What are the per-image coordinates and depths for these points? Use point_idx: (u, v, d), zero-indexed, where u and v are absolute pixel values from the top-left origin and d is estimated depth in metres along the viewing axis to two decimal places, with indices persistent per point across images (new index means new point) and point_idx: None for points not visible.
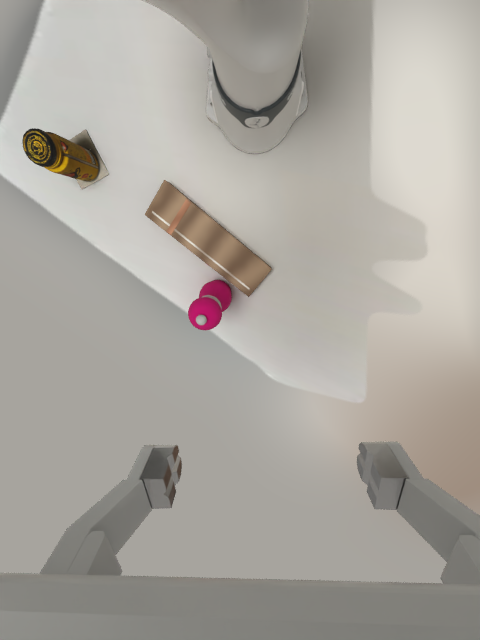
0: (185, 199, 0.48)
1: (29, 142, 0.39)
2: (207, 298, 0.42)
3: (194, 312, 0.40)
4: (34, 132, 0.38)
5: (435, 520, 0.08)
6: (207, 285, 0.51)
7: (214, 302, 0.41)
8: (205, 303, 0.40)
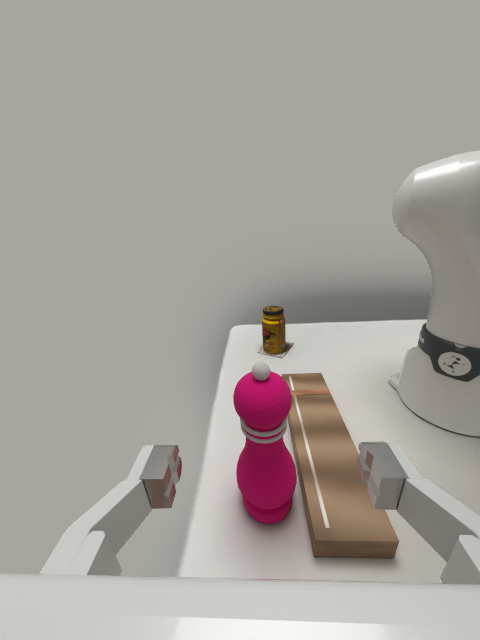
0: (327, 389, 0.44)
1: (272, 307, 0.62)
2: None
3: None
4: (279, 307, 0.62)
5: (435, 520, 0.08)
6: None
7: (290, 393, 0.24)
8: None
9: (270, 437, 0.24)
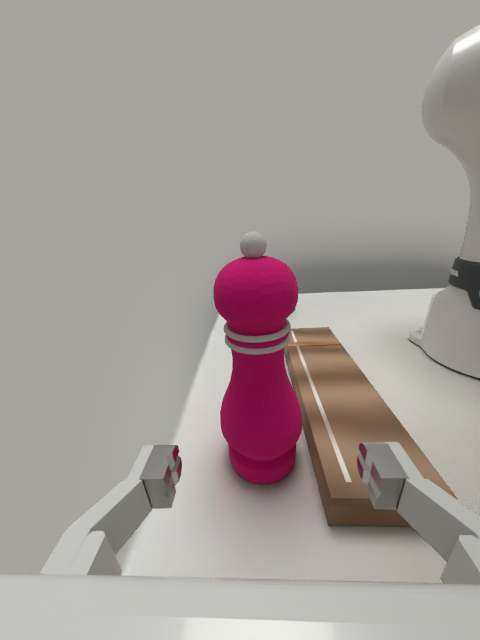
0: (336, 340, 0.37)
1: None
2: None
3: None
4: None
5: (435, 520, 0.08)
6: None
7: None
8: None
9: (266, 344, 0.16)
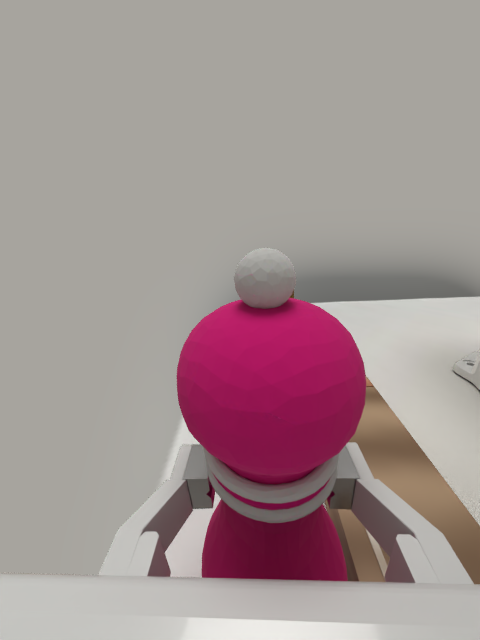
0: (366, 379, 0.28)
1: None
2: None
3: None
4: None
5: (381, 520, 0.08)
6: None
7: None
8: None
9: (294, 504, 0.07)
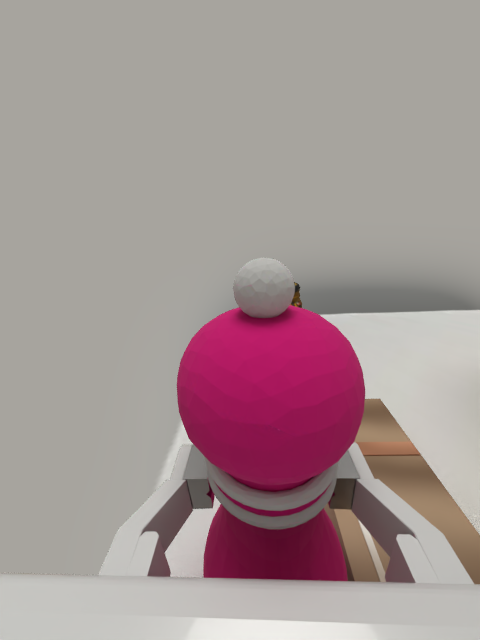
0: (407, 441, 0.20)
1: None
2: None
3: None
4: None
5: (381, 520, 0.08)
6: None
7: None
8: None
9: (294, 510, 0.07)
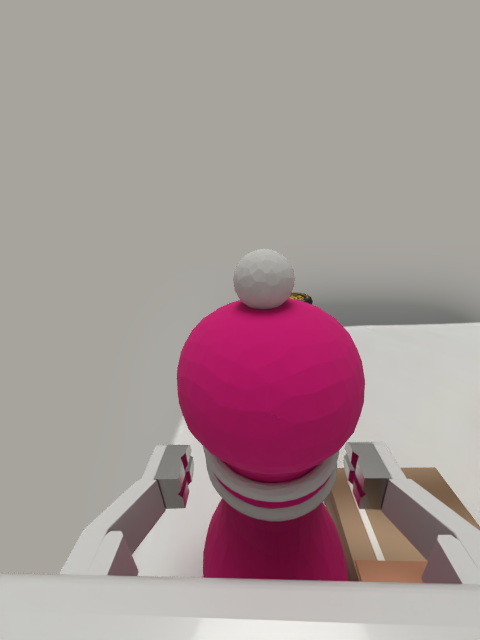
0: None
1: None
2: None
3: None
4: (302, 294, 0.31)
5: (416, 520, 0.08)
6: None
7: None
8: None
9: (294, 502, 0.07)
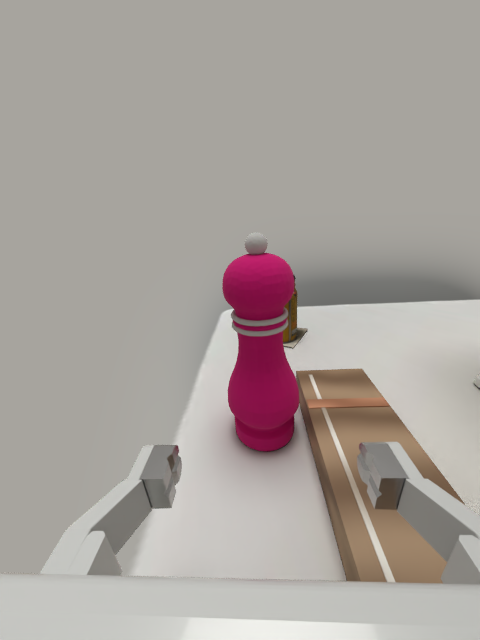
0: (380, 397, 0.25)
1: None
2: None
3: None
4: None
5: (435, 520, 0.08)
6: None
7: None
8: None
9: (267, 327, 0.19)
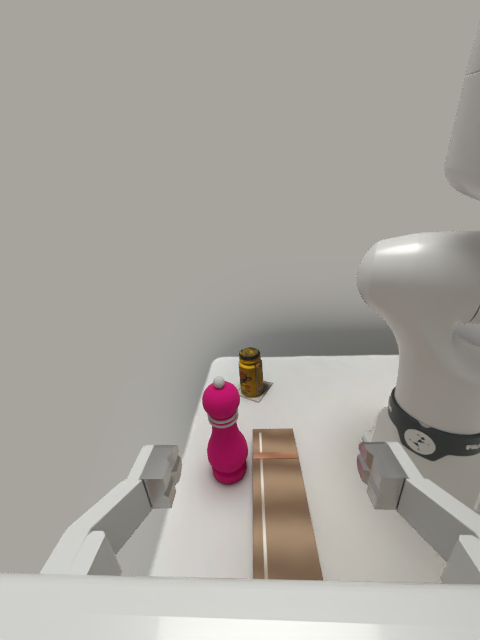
0: (295, 451, 0.43)
1: (249, 349, 0.61)
2: None
3: None
4: (255, 349, 0.61)
5: (435, 520, 0.08)
6: None
7: (239, 396, 0.38)
8: (234, 386, 0.38)
9: (225, 424, 0.37)
